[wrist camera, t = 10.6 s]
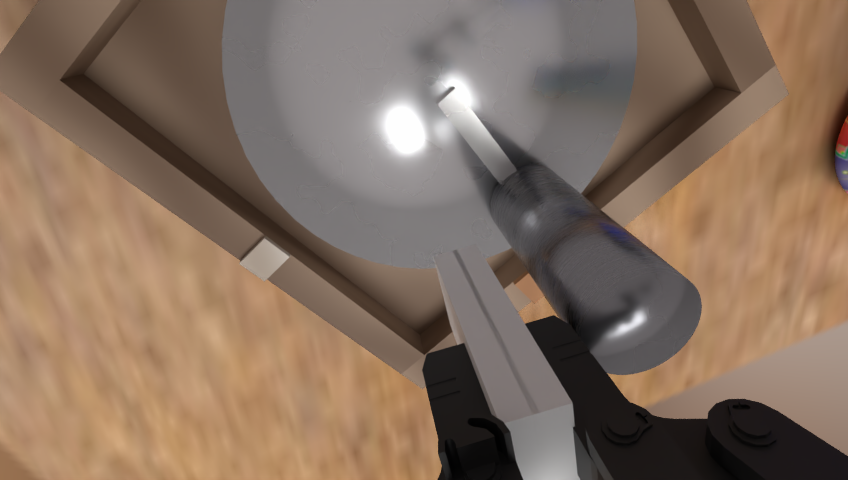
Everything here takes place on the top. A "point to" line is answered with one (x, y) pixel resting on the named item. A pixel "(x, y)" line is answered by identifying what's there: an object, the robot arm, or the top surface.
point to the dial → (459, 145)
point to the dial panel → (272, 225)
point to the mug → (842, 156)
